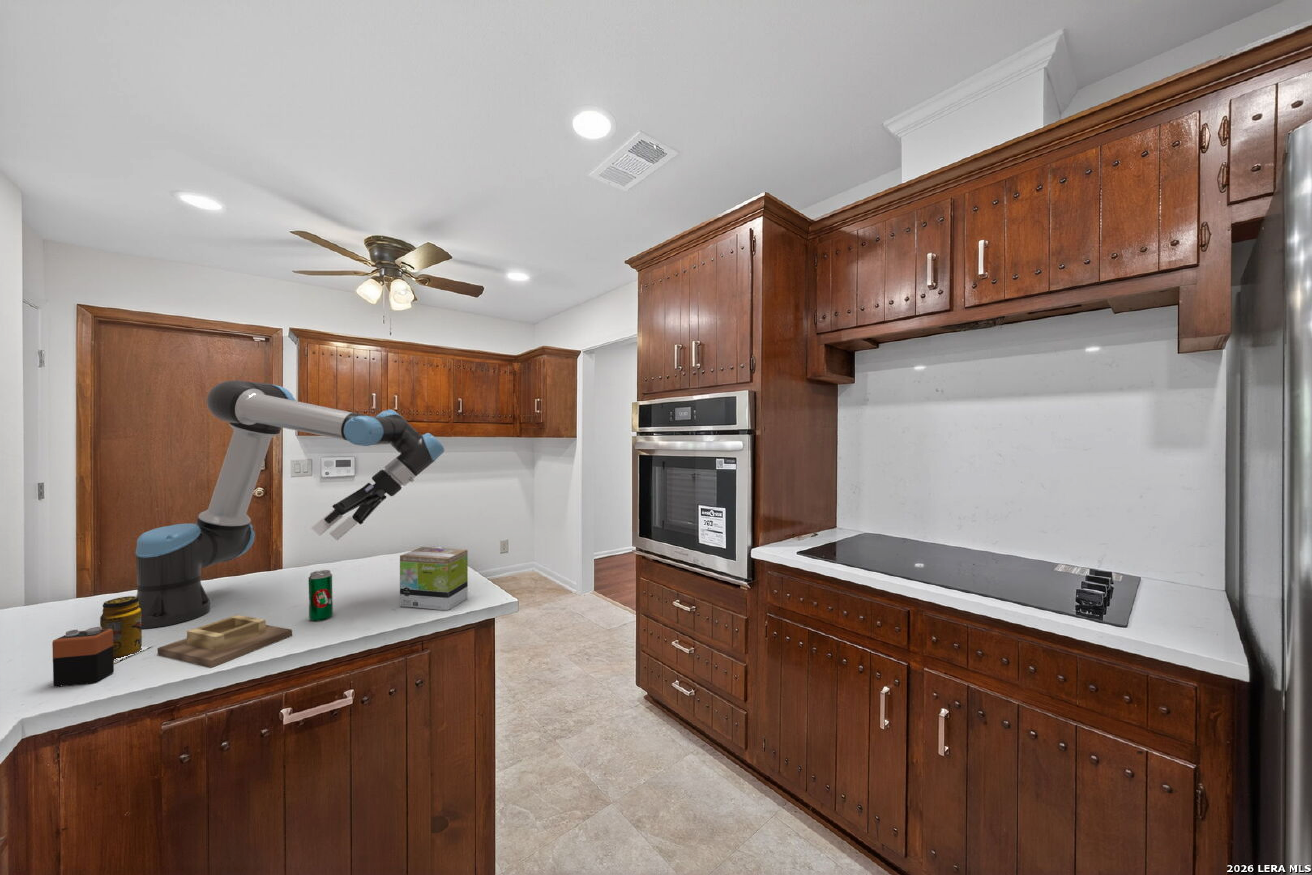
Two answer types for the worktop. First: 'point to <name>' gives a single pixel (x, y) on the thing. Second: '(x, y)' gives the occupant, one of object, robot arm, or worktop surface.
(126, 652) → the condiment
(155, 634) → the worktop surface
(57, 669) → the battery
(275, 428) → the robot arm
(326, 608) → the soda can
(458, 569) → the tea box
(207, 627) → the collar board
